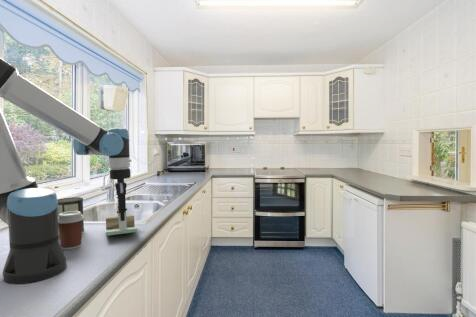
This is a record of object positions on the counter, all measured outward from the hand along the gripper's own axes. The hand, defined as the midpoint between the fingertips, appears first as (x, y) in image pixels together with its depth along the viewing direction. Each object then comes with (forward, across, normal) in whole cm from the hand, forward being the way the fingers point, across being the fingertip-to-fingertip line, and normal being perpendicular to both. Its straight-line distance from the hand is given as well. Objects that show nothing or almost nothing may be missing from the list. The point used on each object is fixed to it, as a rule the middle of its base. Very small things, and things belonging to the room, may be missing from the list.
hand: (122, 228), depth 119 cm
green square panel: (+2, +7, +1) cm, 7 cm away
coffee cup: (+3, -4, +18) cm, 18 cm away
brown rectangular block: (+3, +8, +1) cm, 9 cm away
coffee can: (+3, +13, +20) cm, 24 cm away
